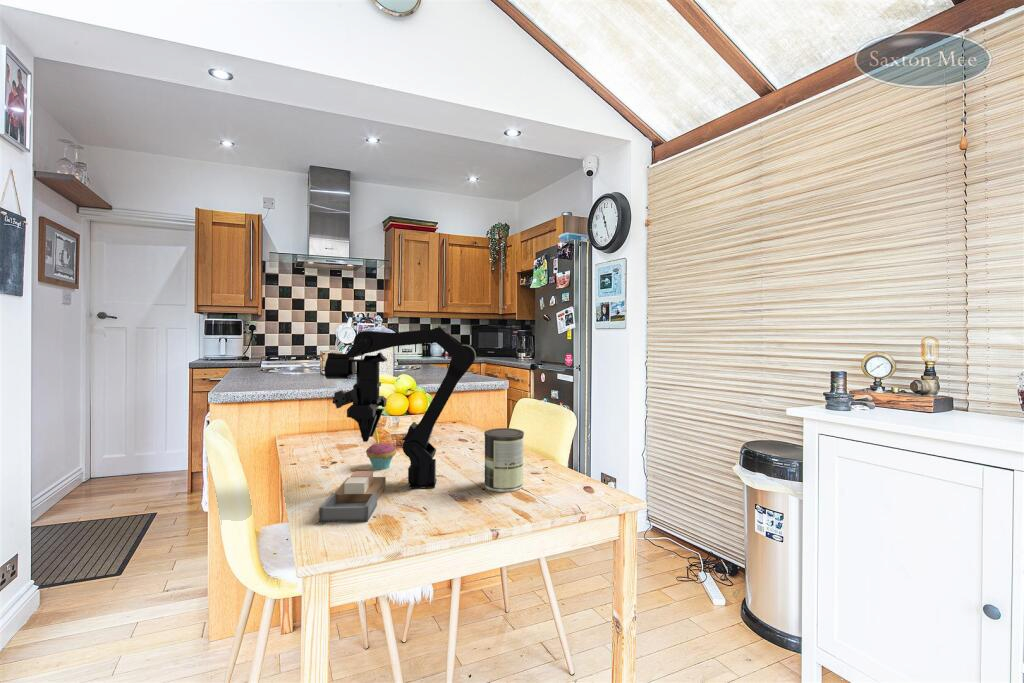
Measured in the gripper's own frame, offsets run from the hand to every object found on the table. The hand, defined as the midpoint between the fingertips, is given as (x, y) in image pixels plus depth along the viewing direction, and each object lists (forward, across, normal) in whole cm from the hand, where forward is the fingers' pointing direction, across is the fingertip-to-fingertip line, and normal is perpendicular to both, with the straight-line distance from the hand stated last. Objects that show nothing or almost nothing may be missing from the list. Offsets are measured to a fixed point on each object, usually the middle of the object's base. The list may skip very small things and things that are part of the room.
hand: (368, 439), depth 126 cm
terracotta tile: (+10, +7, 0) cm, 12 cm away
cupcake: (+12, -16, 0) cm, 21 cm away
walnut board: (+12, +8, 0) cm, 14 cm away
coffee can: (+12, +2, +35) cm, 37 cm away
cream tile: (+10, +12, 0) cm, 15 cm away
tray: (+12, +20, 0) cm, 23 cm away
